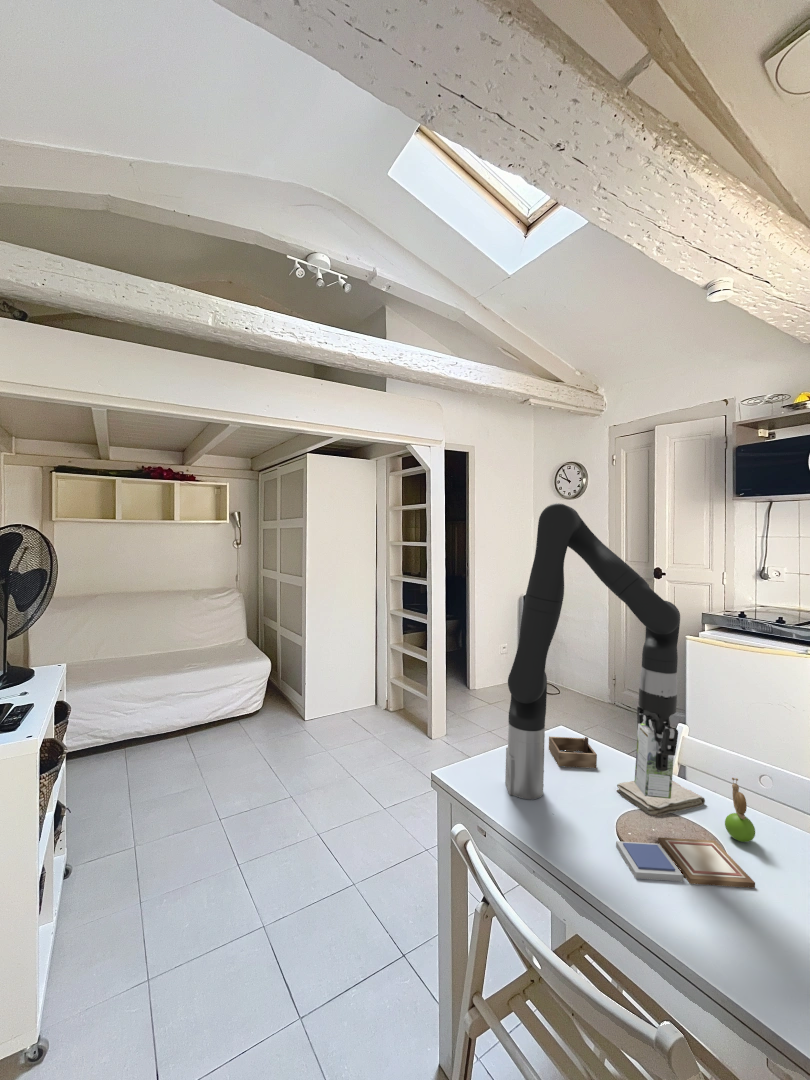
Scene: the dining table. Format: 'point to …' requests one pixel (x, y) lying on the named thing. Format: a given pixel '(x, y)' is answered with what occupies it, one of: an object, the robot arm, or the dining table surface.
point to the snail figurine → (739, 818)
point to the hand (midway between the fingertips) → (654, 762)
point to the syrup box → (651, 766)
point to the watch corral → (570, 757)
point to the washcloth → (661, 799)
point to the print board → (705, 863)
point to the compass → (583, 746)
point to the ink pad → (648, 861)
